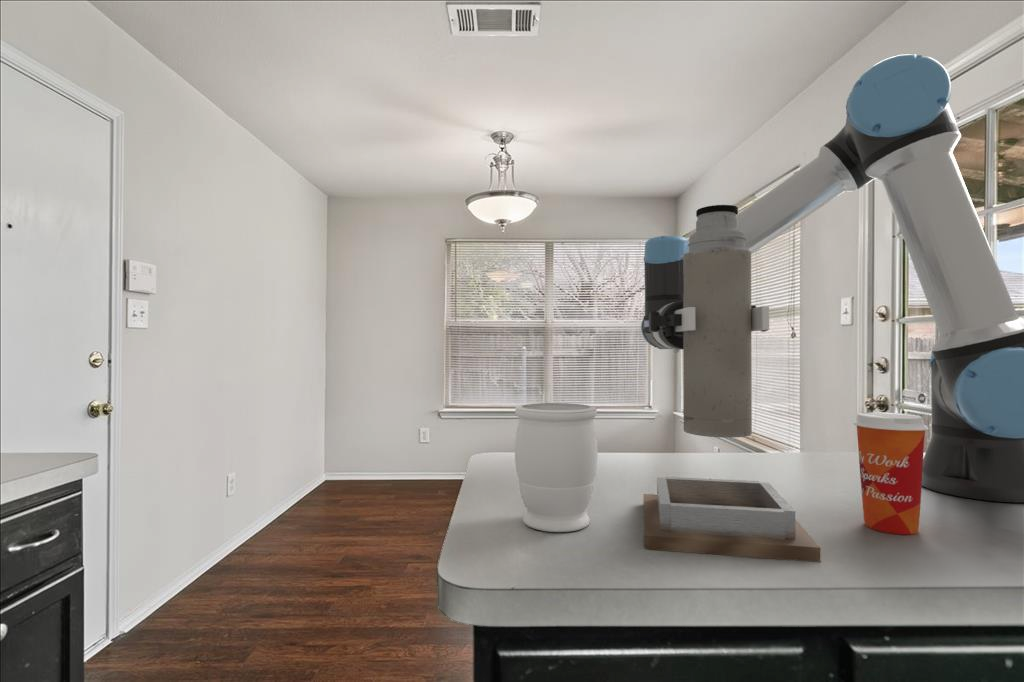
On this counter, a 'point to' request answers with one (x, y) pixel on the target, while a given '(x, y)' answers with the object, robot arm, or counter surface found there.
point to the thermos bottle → (718, 327)
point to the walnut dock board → (725, 539)
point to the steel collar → (724, 508)
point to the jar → (556, 464)
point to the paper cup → (891, 470)
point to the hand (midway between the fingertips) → (728, 318)
